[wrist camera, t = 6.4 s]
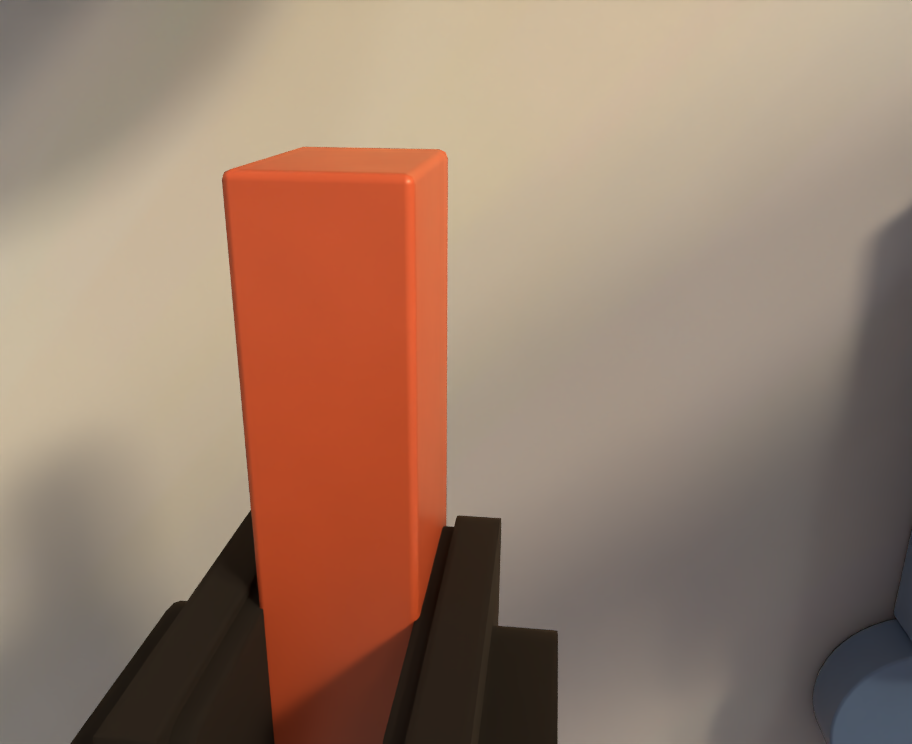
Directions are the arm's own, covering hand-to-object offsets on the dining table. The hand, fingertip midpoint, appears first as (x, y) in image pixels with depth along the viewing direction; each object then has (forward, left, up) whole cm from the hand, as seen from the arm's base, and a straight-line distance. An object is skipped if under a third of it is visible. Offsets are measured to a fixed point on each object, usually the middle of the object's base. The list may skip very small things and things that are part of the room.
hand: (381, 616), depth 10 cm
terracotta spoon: (+2, 0, 0) cm, 2 cm away
